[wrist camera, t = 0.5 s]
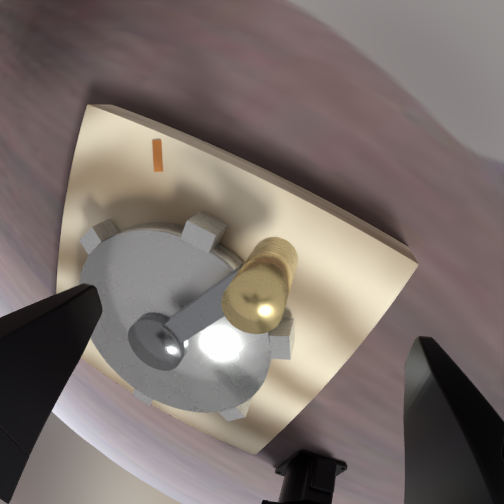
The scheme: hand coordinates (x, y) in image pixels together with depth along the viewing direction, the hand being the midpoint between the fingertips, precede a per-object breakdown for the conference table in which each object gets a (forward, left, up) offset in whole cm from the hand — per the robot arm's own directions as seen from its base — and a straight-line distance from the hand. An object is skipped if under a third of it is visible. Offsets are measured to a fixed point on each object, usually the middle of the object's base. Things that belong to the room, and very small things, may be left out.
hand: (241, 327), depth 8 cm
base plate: (-11, +4, -14) cm, 18 cm away
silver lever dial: (-11, +4, -11) cm, 16 cm away
